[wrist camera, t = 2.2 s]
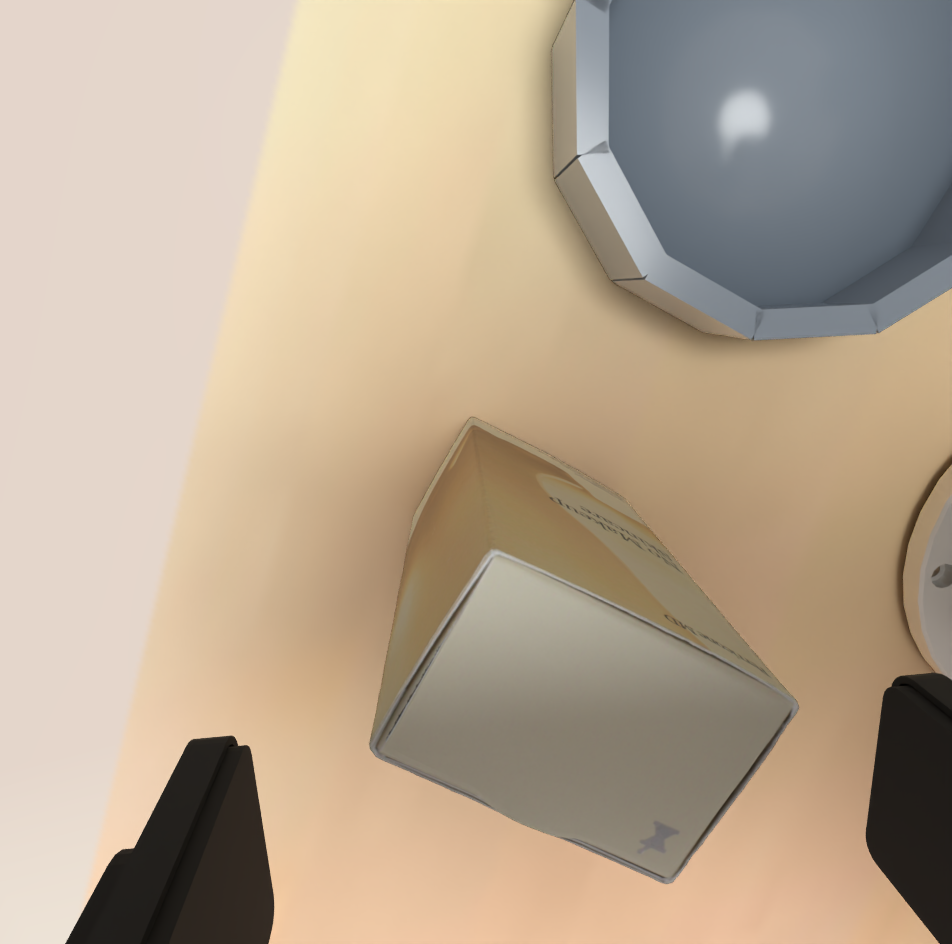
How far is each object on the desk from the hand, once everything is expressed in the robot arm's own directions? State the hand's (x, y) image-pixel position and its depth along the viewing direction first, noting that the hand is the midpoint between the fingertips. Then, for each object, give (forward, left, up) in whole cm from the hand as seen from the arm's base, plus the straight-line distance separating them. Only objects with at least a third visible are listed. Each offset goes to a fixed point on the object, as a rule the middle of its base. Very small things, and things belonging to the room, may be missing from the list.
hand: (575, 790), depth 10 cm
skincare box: (-1, 0, -14) cm, 14 cm away
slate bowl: (-9, -12, -14) cm, 20 cm away
